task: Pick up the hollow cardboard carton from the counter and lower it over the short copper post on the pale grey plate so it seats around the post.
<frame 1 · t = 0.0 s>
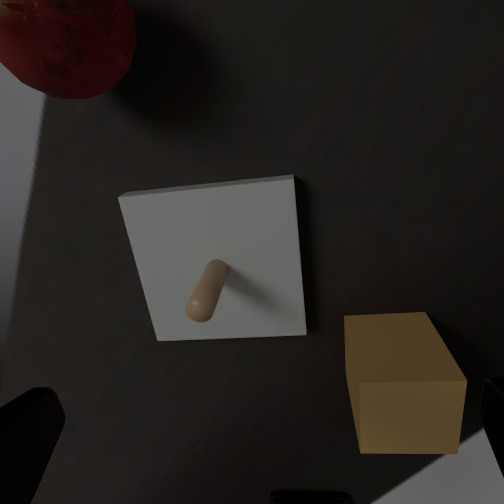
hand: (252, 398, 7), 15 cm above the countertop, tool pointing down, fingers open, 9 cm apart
onion: (106, 38, 19), on the countertop
post plate: (220, 261, 23), on the countertop
cardboard carton: (383, 345, 24), on the countertop
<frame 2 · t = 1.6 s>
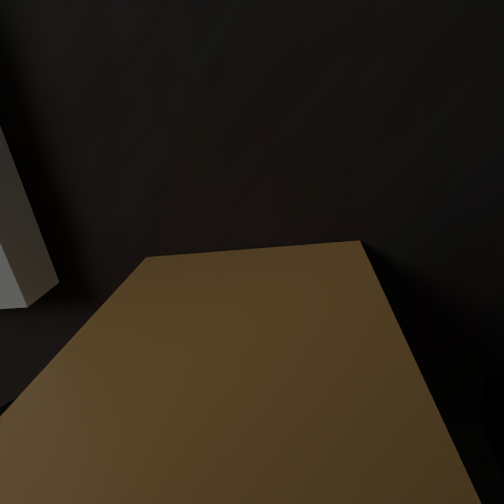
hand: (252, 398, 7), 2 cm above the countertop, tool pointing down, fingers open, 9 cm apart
cardboard carton: (261, 338, 9), on the countertop
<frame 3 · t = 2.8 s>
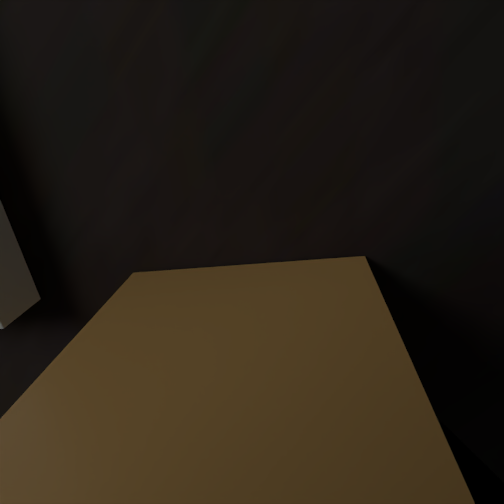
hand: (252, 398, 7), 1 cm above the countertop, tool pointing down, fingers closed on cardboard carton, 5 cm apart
cardboard carton: (257, 358, 9), on the countertop, touching gripper
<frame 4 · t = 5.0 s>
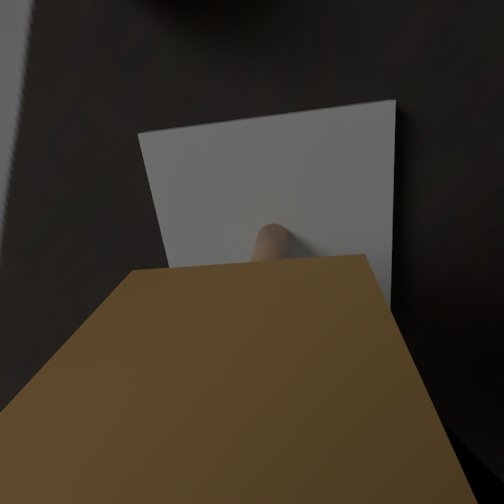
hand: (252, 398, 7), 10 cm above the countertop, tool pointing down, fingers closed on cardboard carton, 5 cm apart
post plate: (274, 229, 17), on the countertop
cardboard carton: (257, 357, 9), point 9 cm above the countertop, touching gripper
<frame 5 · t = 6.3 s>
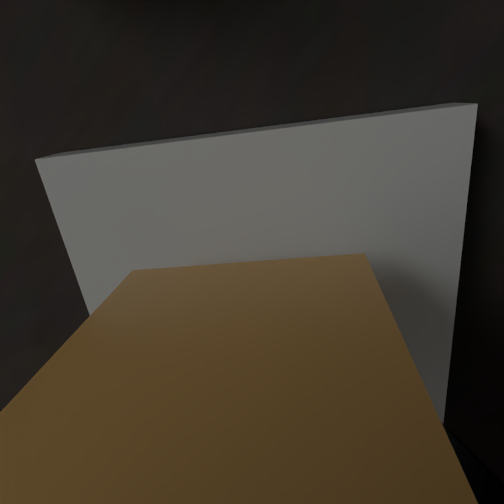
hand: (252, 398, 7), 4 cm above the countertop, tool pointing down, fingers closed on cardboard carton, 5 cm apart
post plate: (264, 299, 11), on the countertop
cardboard carton: (257, 356, 9), point 3 cm above the countertop, touching gripper
when the fingers open (4 cm above the countertop, at t = 7.1 s): cardboard carton drops 1 cm, resting on post plate.
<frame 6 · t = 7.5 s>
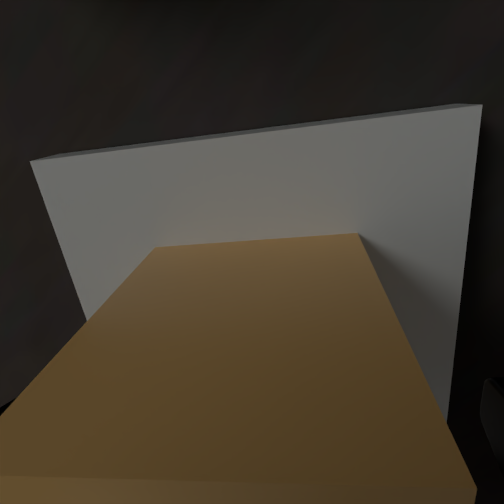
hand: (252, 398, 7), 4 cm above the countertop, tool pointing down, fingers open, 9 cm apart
post plate: (264, 303, 11), on the countertop
cardboard carton: (262, 325, 10), point 1 cm above the countertop, touching post plate
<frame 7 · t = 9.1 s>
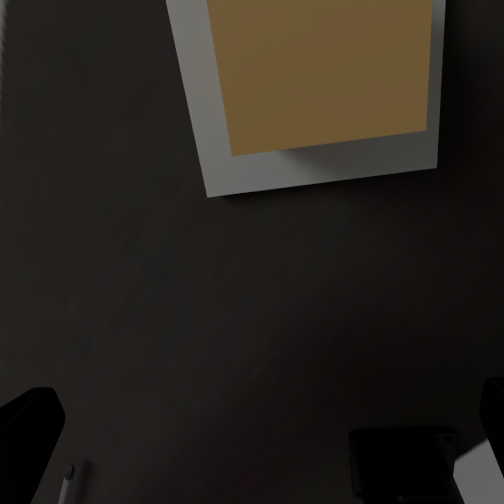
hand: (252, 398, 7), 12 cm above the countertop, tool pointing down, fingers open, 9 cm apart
post plate: (304, 58, 15), on the countertop
cardboard carton: (307, 55, 14), point 1 cm above the countertop, touching post plate
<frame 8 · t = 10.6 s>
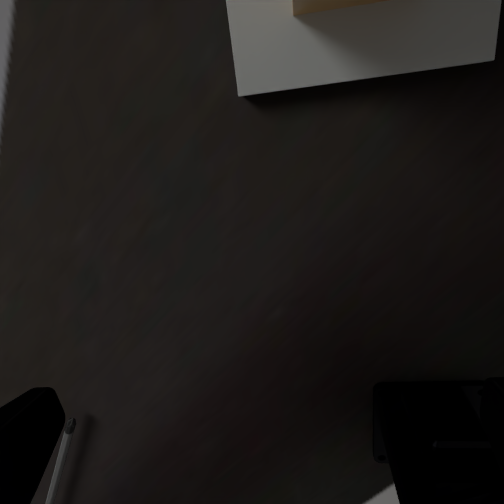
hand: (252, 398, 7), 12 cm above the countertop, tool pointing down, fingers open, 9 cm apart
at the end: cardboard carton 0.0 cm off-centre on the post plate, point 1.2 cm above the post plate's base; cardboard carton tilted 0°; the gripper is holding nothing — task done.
